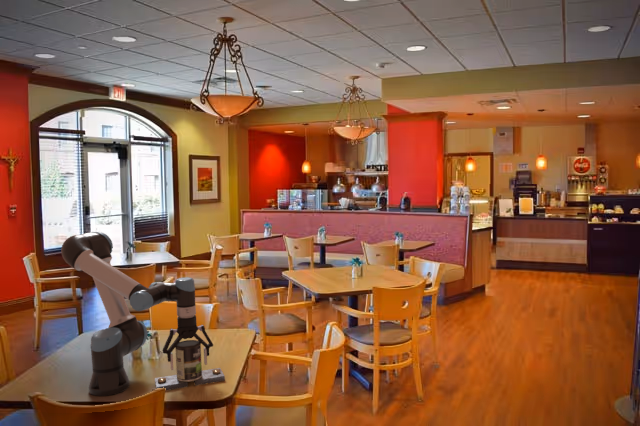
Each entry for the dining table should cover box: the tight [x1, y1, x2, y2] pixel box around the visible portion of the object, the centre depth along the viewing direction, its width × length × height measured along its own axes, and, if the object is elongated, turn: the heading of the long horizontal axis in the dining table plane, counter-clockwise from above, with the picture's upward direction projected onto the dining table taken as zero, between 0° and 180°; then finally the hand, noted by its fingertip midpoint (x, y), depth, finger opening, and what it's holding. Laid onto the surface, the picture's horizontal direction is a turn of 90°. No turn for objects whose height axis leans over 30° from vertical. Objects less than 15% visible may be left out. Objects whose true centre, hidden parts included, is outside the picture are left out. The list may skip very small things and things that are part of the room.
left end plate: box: [154, 374, 189, 391], centre depth 216 cm, size 12×10×3 cm
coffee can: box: [174, 339, 203, 383], centre depth 218 cm, size 10×10×14 cm
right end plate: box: [193, 367, 226, 386], centre depth 221 cm, size 12×10×3 cm
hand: (189, 366), depth 218 cm, fingers open, 13 cm apart
